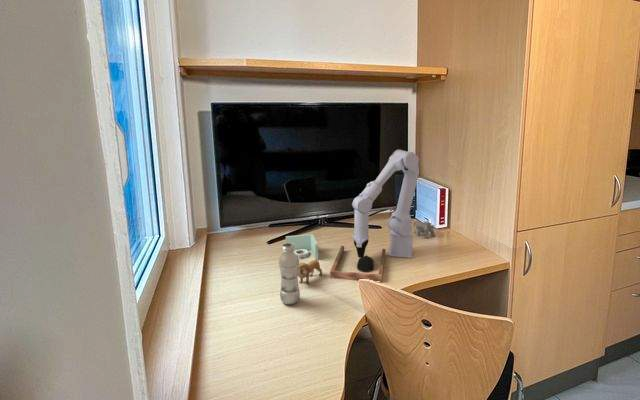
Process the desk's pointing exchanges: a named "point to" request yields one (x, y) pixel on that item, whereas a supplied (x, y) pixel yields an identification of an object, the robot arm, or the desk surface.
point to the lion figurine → (308, 270)
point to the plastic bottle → (289, 275)
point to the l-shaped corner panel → (303, 245)
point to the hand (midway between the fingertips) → (360, 256)
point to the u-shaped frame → (353, 274)
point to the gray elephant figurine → (424, 228)
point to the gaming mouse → (365, 264)
